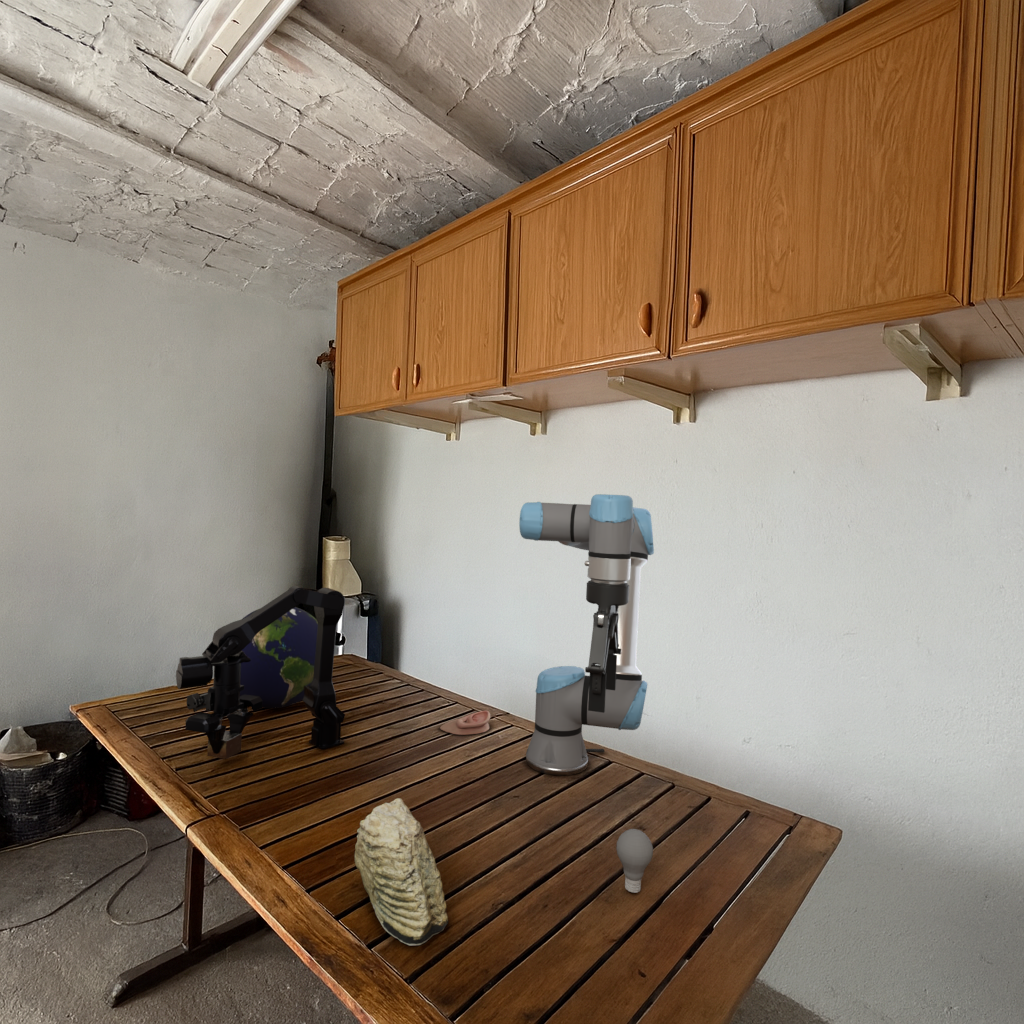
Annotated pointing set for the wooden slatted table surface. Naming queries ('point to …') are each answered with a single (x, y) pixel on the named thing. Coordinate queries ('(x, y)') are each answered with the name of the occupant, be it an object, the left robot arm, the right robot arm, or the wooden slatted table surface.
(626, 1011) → the wooden slatted table surface
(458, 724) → the anatomical model
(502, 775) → the wooden slatted table surface
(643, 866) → the light bulb
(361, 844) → the fossil
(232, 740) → the grey metal block
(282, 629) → the globe
